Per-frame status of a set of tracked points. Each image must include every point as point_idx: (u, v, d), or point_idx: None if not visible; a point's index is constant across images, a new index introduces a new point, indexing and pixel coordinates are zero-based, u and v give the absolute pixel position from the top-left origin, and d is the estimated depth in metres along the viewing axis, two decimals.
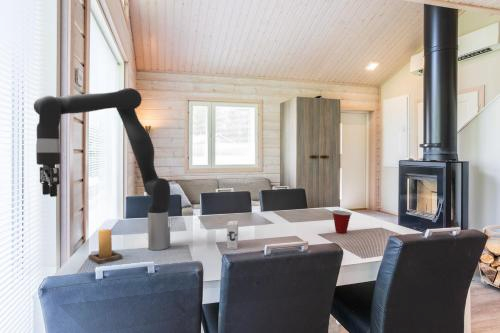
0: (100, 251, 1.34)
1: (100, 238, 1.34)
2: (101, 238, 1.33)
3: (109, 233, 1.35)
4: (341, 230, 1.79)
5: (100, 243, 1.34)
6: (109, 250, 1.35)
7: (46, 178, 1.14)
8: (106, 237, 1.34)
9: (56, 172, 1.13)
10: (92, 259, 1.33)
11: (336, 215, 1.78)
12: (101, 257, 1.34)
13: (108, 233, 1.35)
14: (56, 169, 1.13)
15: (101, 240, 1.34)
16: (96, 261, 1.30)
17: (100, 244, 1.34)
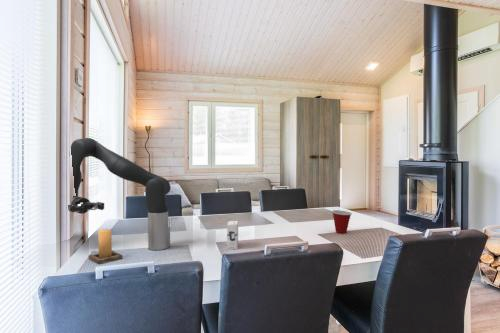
0: (100, 251, 1.34)
1: (100, 238, 1.34)
2: (101, 238, 1.33)
3: (109, 233, 1.35)
4: (341, 230, 1.79)
5: (100, 243, 1.34)
6: (109, 250, 1.35)
7: None
8: (106, 237, 1.34)
9: (69, 207, 1.44)
10: (92, 259, 1.33)
11: (336, 215, 1.78)
12: (101, 257, 1.34)
13: (108, 233, 1.35)
14: (68, 207, 1.45)
15: (101, 240, 1.34)
16: (96, 261, 1.30)
17: (100, 244, 1.34)
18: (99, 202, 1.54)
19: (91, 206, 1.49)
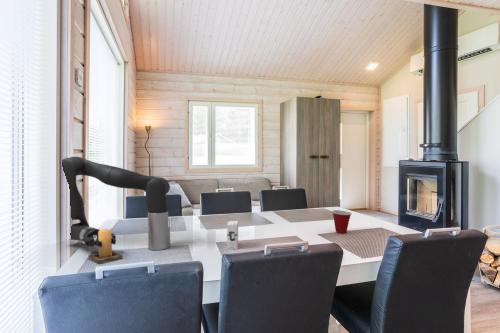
0: (100, 251, 1.34)
1: (100, 238, 1.34)
2: (101, 238, 1.33)
3: (109, 233, 1.35)
4: (341, 230, 1.79)
5: None
6: (109, 250, 1.35)
7: None
8: (106, 237, 1.34)
9: (83, 241, 1.35)
10: (92, 259, 1.33)
11: (336, 215, 1.78)
12: (101, 257, 1.34)
13: (108, 233, 1.34)
14: (82, 241, 1.36)
15: (101, 240, 1.33)
16: (96, 261, 1.30)
17: None
18: (112, 234, 1.44)
19: None
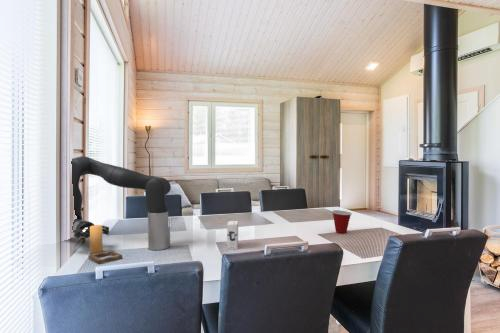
0: (91, 245, 1.42)
1: (91, 233, 1.42)
2: (92, 233, 1.42)
3: (100, 228, 1.44)
4: (341, 230, 1.79)
5: (91, 238, 1.42)
6: (100, 244, 1.44)
7: None
8: (96, 232, 1.42)
9: (74, 232, 1.44)
10: (92, 259, 1.33)
11: (336, 215, 1.78)
12: (92, 251, 1.42)
13: (99, 228, 1.43)
14: (73, 232, 1.45)
15: (92, 235, 1.42)
16: (96, 261, 1.30)
17: (91, 239, 1.42)
18: (104, 226, 1.54)
19: None
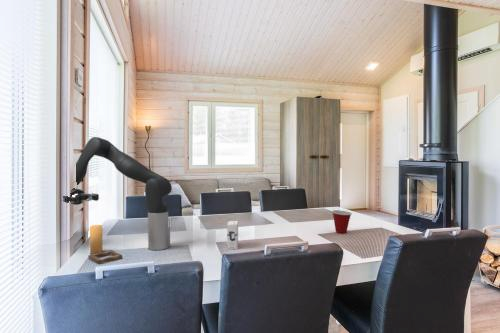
0: (91, 245, 1.42)
1: (91, 233, 1.42)
2: (92, 233, 1.42)
3: (100, 228, 1.44)
4: (341, 230, 1.79)
5: (91, 238, 1.42)
6: (100, 244, 1.44)
7: (75, 202, 1.47)
8: (97, 232, 1.42)
9: (63, 198, 1.46)
10: (92, 259, 1.33)
11: (336, 215, 1.78)
12: (92, 251, 1.42)
13: (99, 228, 1.43)
14: (63, 197, 1.47)
15: (92, 235, 1.42)
16: (96, 261, 1.30)
17: (91, 238, 1.42)
18: None
19: (85, 197, 1.51)
